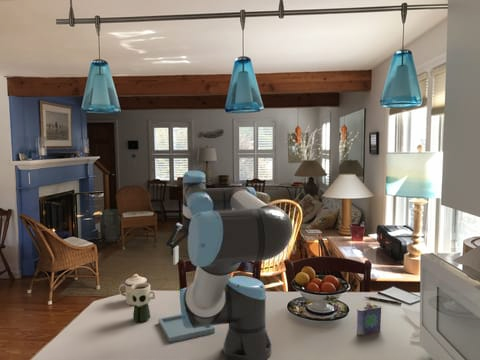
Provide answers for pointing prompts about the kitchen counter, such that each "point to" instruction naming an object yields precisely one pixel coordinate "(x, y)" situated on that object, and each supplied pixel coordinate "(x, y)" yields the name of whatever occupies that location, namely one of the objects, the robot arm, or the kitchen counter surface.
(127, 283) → the teacup with lid
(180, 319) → the tray
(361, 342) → the kitchen counter surface
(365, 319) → the flask
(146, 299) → the character mug
